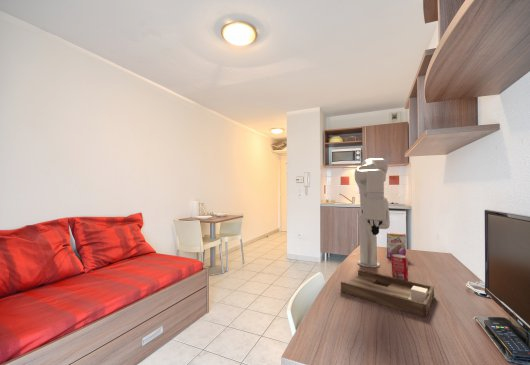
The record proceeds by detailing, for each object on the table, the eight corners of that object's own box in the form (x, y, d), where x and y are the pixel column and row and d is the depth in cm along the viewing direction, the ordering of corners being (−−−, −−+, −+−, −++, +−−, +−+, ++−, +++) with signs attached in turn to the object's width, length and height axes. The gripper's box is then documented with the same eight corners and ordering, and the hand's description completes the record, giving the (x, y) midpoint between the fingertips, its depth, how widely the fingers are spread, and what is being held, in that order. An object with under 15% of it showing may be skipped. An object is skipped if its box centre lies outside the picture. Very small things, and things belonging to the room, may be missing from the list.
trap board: (358, 278, 124) (358, 269, 124) (434, 296, 103) (433, 286, 103) (340, 292, 108) (340, 282, 108) (426, 317, 87) (425, 305, 87)
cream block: (413, 295, 100) (413, 285, 100) (427, 298, 97) (427, 288, 97) (410, 299, 96) (410, 289, 96) (425, 303, 93) (425, 292, 93)
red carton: (410, 285, 115) (410, 258, 116) (394, 284, 117) (394, 257, 117) (405, 279, 122) (404, 254, 123) (389, 278, 124) (389, 253, 124)
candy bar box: (387, 257, 162) (386, 233, 163) (386, 255, 167) (386, 232, 167) (406, 259, 158) (405, 234, 158) (405, 257, 162) (404, 233, 163)
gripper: (356, 195, 115) (356, 233, 116) (390, 196, 106) (390, 238, 106) (361, 194, 121) (361, 231, 121) (394, 195, 112) (394, 235, 112)
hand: (375, 234), depth 114 cm, fingers closed
